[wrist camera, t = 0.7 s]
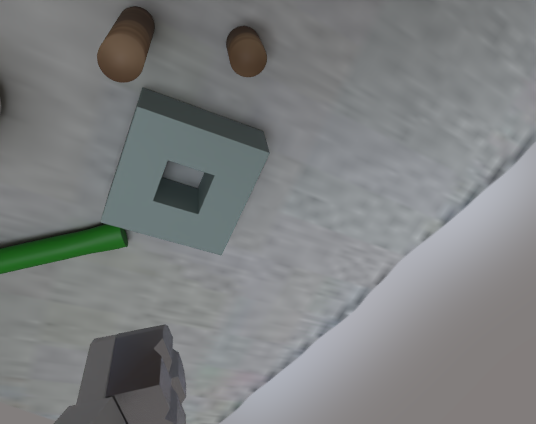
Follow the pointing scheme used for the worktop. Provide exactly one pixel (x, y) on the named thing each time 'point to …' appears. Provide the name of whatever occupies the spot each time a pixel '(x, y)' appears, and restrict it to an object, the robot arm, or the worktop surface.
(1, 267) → the green onion
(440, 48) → the worktop surface
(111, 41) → the long peg
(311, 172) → the worktop surface
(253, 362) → the worktop surface
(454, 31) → the worktop surface
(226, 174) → the hole block
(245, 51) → the short peg
